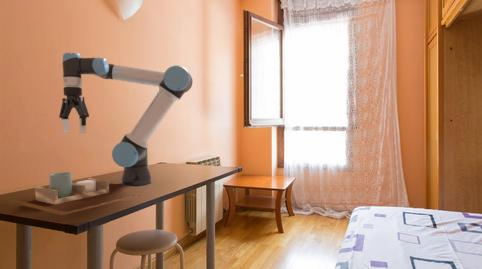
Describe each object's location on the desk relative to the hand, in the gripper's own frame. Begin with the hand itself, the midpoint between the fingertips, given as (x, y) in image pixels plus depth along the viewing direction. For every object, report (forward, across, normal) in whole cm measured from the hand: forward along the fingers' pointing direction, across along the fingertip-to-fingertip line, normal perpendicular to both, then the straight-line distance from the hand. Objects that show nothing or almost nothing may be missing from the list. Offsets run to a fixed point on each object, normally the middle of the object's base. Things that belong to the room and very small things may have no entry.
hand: (74, 133), depth 149 cm
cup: (+26, +17, -16) cm, 35 cm away
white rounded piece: (+26, +17, -6) cm, 31 cm away
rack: (+27, +17, -11) cm, 34 cm away
